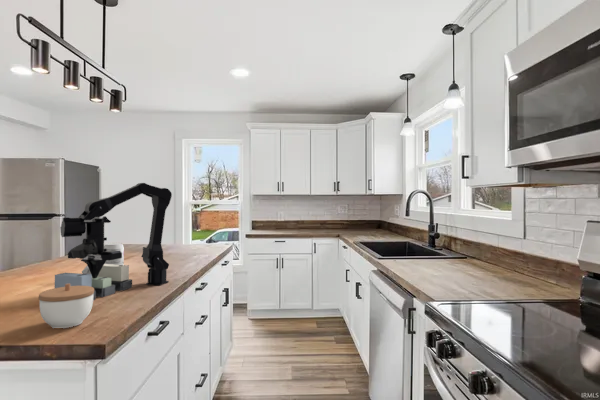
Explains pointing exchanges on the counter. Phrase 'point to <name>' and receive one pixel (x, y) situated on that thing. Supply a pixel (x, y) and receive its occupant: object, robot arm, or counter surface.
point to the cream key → (115, 272)
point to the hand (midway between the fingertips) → (94, 278)
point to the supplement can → (119, 248)
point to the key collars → (112, 288)
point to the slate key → (73, 279)
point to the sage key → (101, 282)
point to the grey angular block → (86, 270)
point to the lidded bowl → (66, 305)
